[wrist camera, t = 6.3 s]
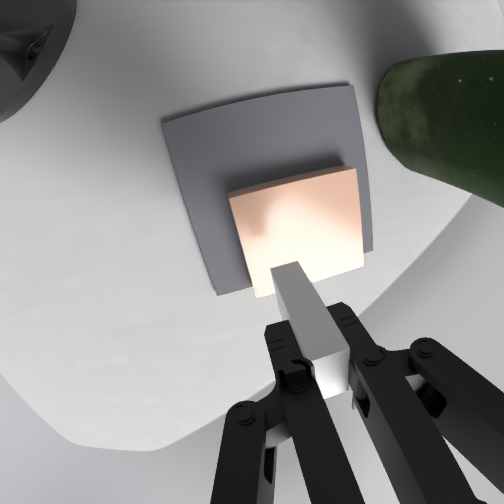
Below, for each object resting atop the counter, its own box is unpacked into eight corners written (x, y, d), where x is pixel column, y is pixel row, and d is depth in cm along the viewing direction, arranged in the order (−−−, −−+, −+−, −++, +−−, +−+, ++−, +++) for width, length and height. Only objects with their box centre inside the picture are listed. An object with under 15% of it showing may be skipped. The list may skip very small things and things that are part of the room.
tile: (228, 198, 18) (355, 168, 18) (227, 192, 19) (344, 164, 20) (256, 298, 21) (363, 266, 21) (253, 286, 23) (354, 256, 23)
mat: (162, 123, 17) (161, 123, 17) (350, 86, 17) (353, 85, 17) (217, 292, 23) (217, 295, 23) (370, 247, 24) (372, 250, 23)
